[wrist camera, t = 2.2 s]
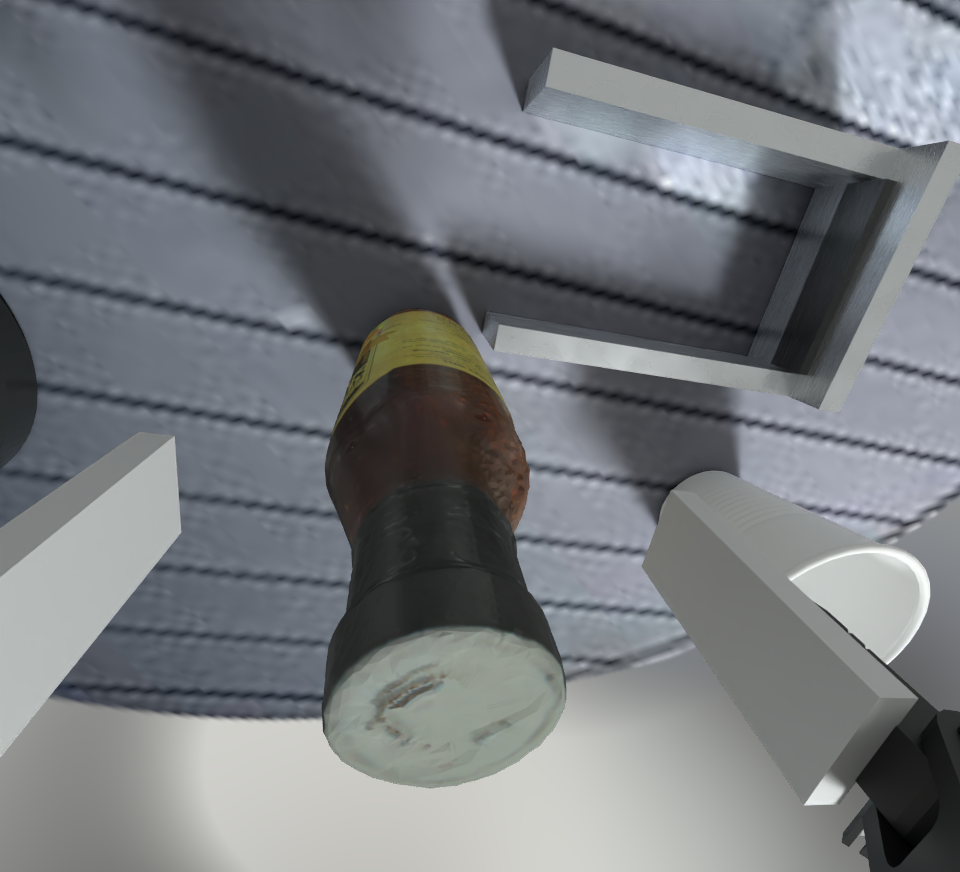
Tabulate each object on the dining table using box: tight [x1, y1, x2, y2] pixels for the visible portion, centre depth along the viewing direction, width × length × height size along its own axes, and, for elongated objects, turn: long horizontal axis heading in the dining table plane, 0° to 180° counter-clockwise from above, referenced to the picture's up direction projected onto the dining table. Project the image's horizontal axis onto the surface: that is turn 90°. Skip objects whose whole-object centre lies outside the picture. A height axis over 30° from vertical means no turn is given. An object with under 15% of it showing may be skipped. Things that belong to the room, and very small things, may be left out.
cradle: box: [482, 48, 960, 412], centre depth 22 cm, size 17×11×6 cm, turn 80°
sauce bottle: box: [322, 309, 566, 788], centre depth 16 cm, size 6×6×20 cm
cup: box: [659, 471, 930, 664], centre depth 27 cm, size 10×10×11 cm
